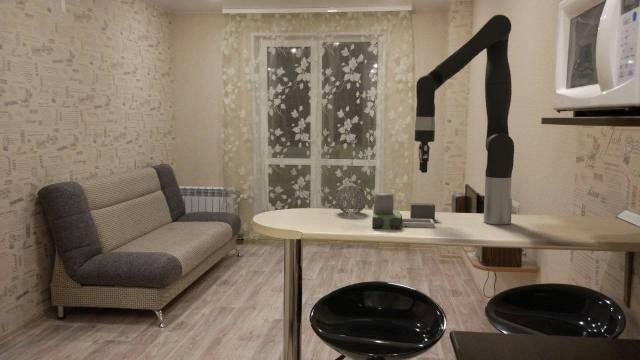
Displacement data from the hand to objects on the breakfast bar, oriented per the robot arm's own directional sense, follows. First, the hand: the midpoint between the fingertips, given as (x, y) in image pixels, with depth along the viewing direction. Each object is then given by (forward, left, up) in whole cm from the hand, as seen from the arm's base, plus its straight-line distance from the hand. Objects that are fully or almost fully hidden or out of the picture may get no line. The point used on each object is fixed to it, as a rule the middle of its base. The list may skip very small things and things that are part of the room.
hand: (423, 171), depth 204 cm
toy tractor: (+9, +12, -18) cm, 24 cm away
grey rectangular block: (0, 0, -19) cm, 19 cm away
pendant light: (+28, -10, -19) cm, 35 cm away
